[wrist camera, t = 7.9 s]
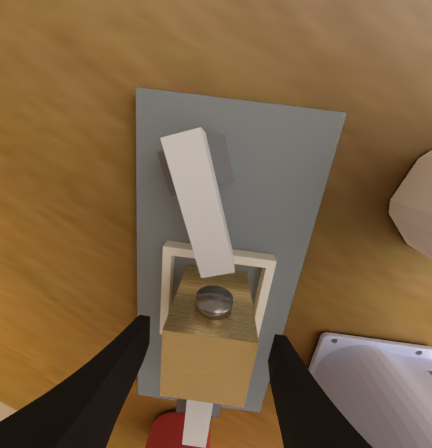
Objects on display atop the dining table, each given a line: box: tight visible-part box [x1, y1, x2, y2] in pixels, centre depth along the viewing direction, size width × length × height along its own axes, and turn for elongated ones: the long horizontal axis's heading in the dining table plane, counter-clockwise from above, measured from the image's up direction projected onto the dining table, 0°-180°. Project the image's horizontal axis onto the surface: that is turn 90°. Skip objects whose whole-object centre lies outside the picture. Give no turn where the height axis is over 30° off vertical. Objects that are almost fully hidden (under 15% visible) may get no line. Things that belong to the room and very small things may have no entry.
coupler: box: [160, 264, 259, 408], centre depth 13 cm, size 4×6×6 cm
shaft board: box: [136, 87, 347, 448], centre depth 14 cm, size 12×26×5 cm, turn 173°
